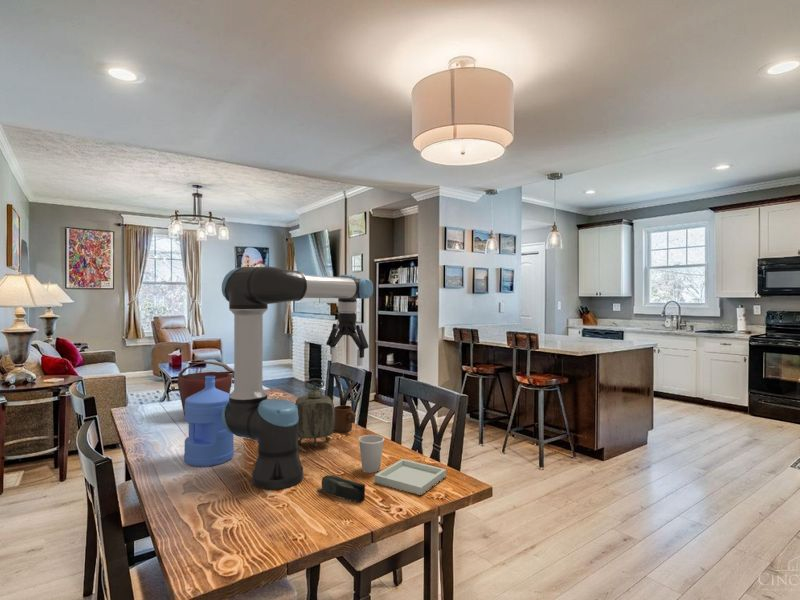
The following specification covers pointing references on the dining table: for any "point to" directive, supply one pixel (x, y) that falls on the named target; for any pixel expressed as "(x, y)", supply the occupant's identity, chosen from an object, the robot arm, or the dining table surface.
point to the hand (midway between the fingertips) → (346, 364)
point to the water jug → (207, 427)
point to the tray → (410, 476)
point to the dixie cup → (371, 452)
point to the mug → (343, 418)
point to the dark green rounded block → (343, 488)
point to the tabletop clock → (315, 415)
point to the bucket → (203, 381)
